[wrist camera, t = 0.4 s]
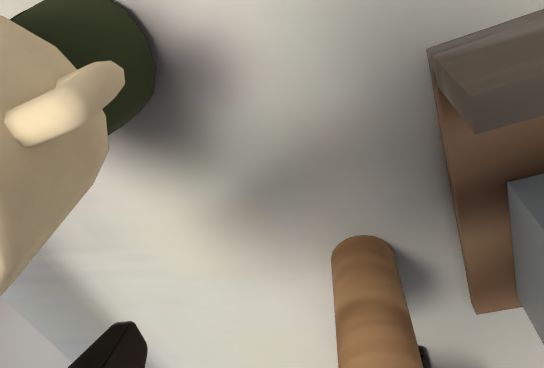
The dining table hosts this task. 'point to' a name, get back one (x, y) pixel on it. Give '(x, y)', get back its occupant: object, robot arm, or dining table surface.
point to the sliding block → (529, 245)
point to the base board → (490, 142)
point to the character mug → (61, 113)
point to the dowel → (371, 307)
